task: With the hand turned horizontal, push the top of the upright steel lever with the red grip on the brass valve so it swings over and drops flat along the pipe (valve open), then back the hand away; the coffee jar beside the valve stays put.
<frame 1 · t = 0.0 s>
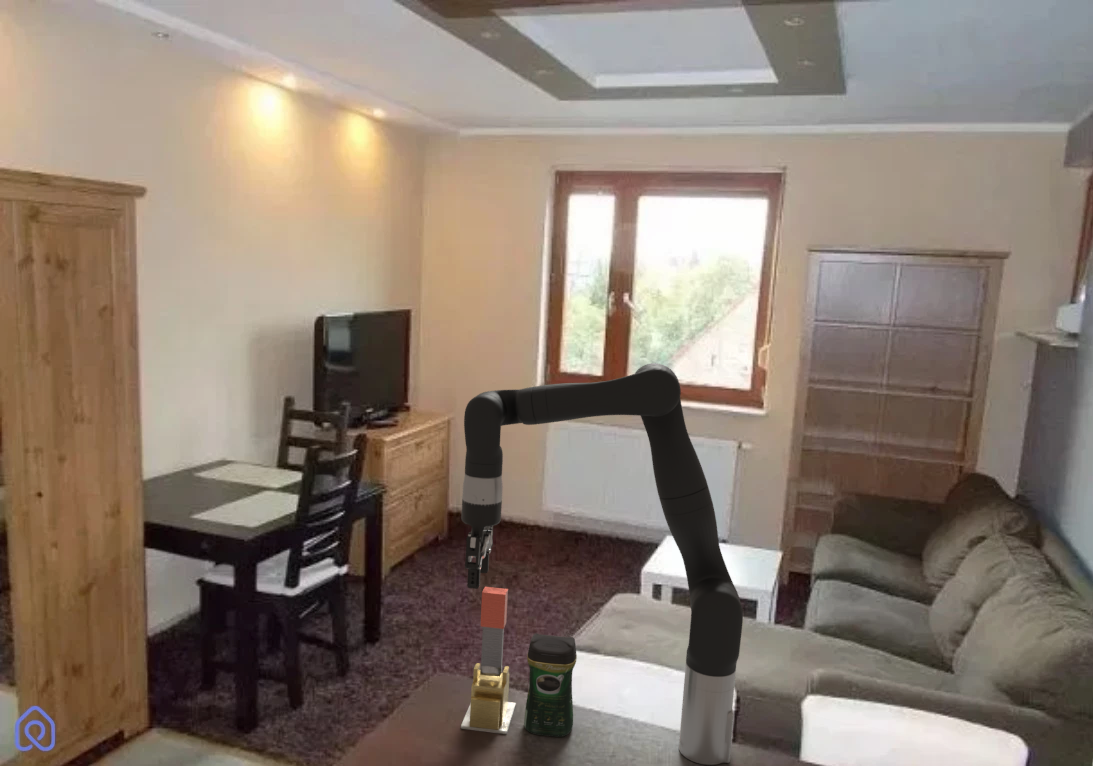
hand: (478, 579, 157), 29 cm above the table, tool pointing down, fingers open, 8 cm apart
valve body: (488, 717, 163), on the table
lever: (493, 633, 161), point 18 cm above the table, hinge at 2.0°
coffee jar: (547, 728, 161), on the table
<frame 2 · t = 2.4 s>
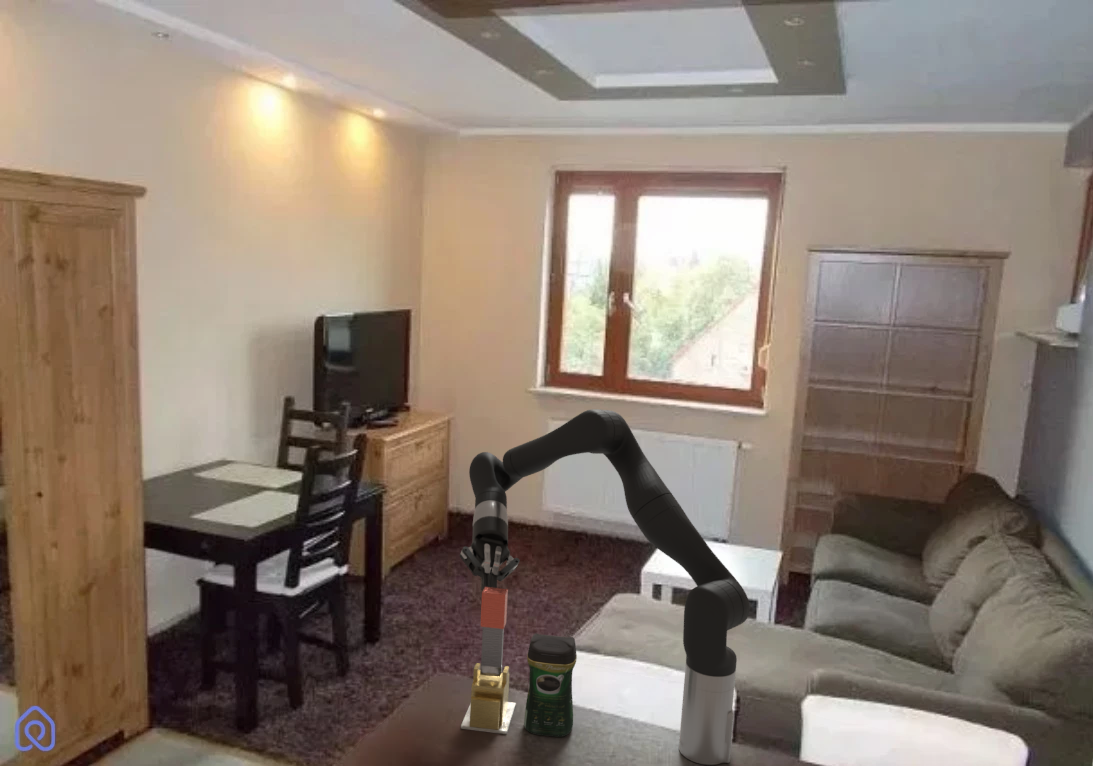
hand: (489, 592, 162), 25 cm above the table, tool tilted 60°, fingers closed
nothing on the table moved.
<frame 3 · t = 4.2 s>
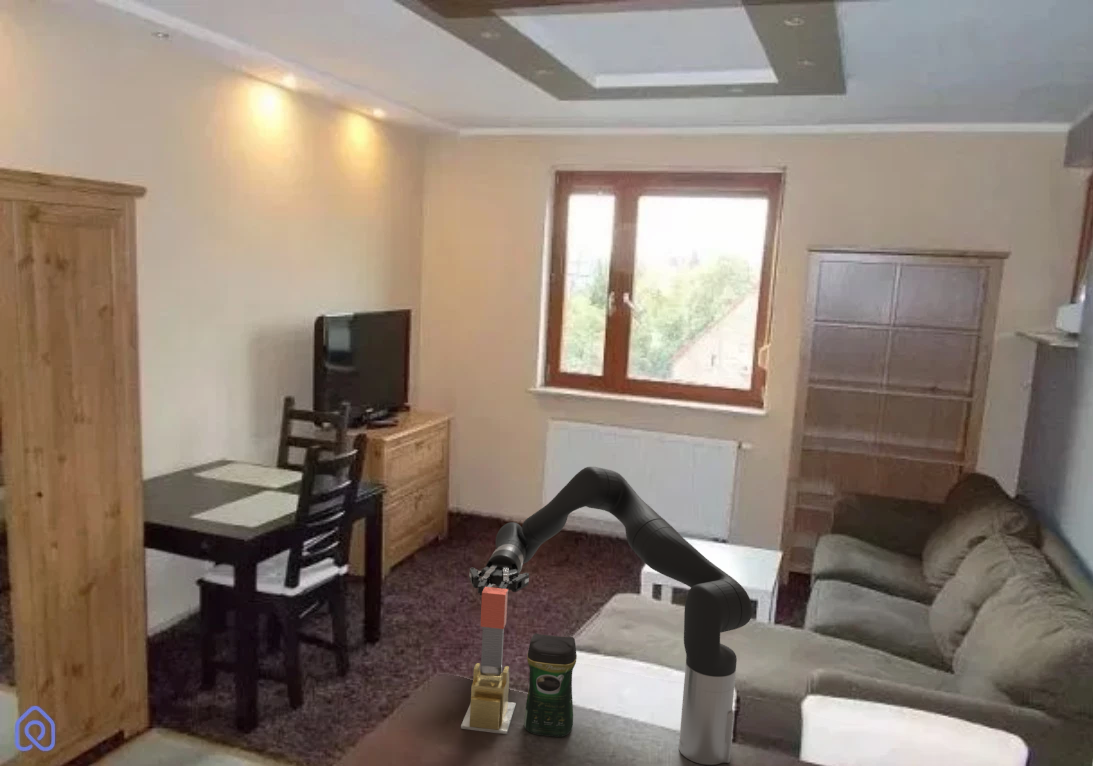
hand: (491, 591, 170), 22 cm above the table, tool horizontal, fingers open, 3 cm apart
nothing on the table moved.
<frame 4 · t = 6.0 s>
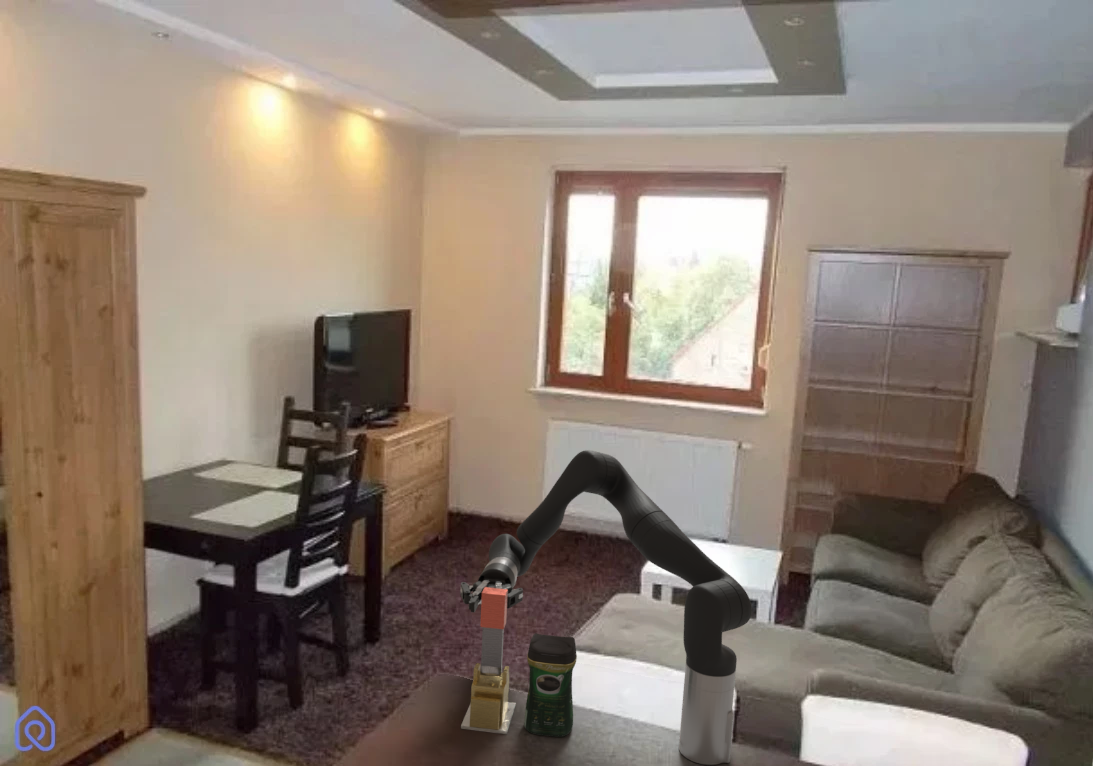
hand: (482, 608, 162), 22 cm above the table, tool horizontal, fingers open, 3 cm apart
lever: (492, 633, 160), point 18 cm above the table, hinge at 2.9°, touching gripper
everything else where it was.
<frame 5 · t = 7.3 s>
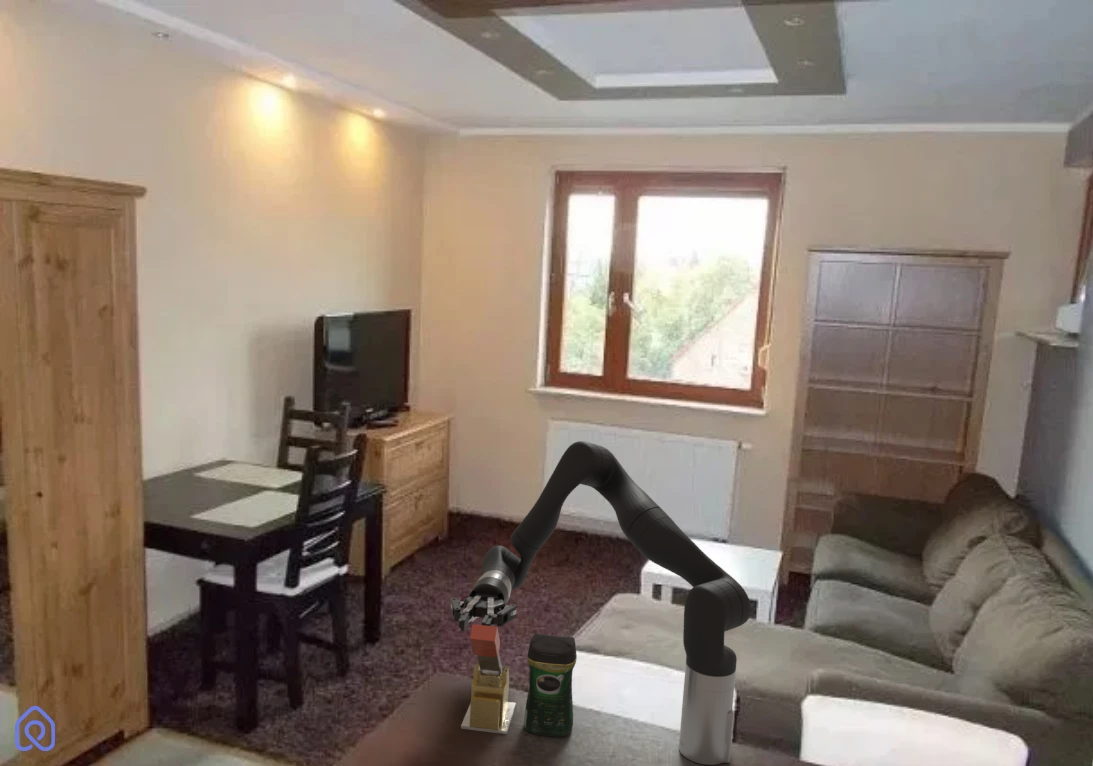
hand: (473, 627, 153), 22 cm above the table, tool horizontal, fingers open, 3 cm apart
lever: (487, 653, 156), point 16 cm above the table, hinge at 41.4°, touching gripper
everything else where it was.
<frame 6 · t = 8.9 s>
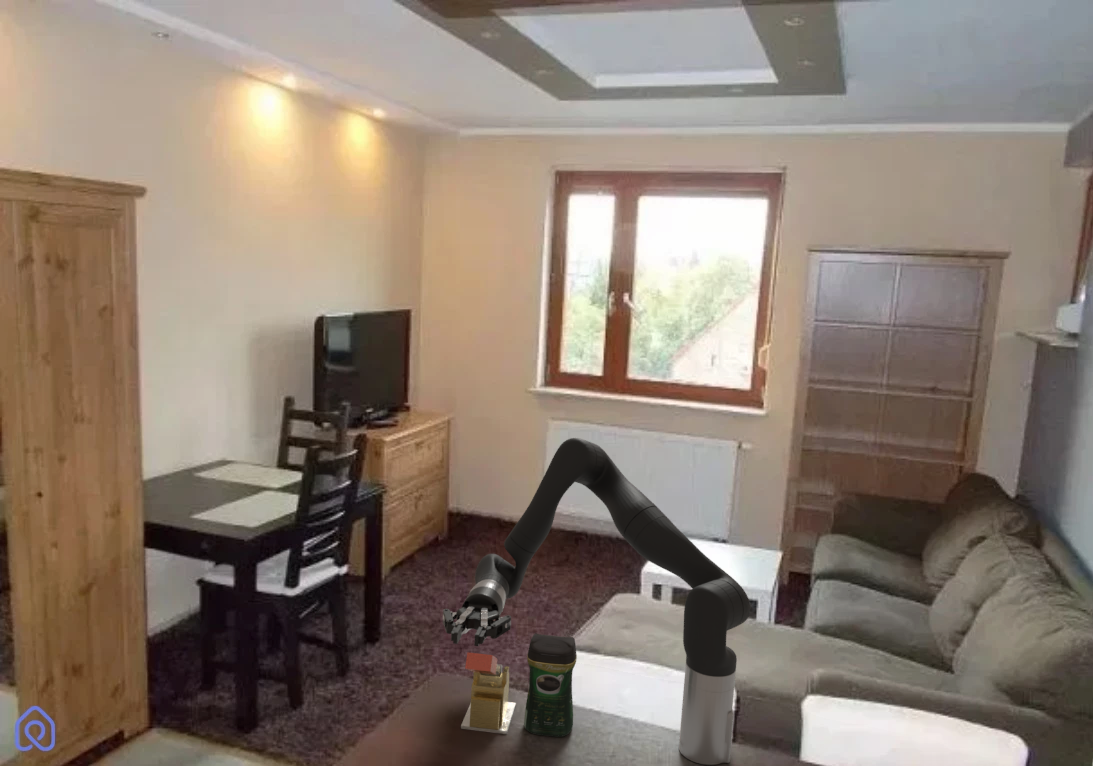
hand: (466, 639, 147), 22 cm above the table, tool horizontal, fingers open, 3 cm apart
lever: (485, 666, 155), point 14 cm above the table, hinge at 59.7°
everything else where it was.
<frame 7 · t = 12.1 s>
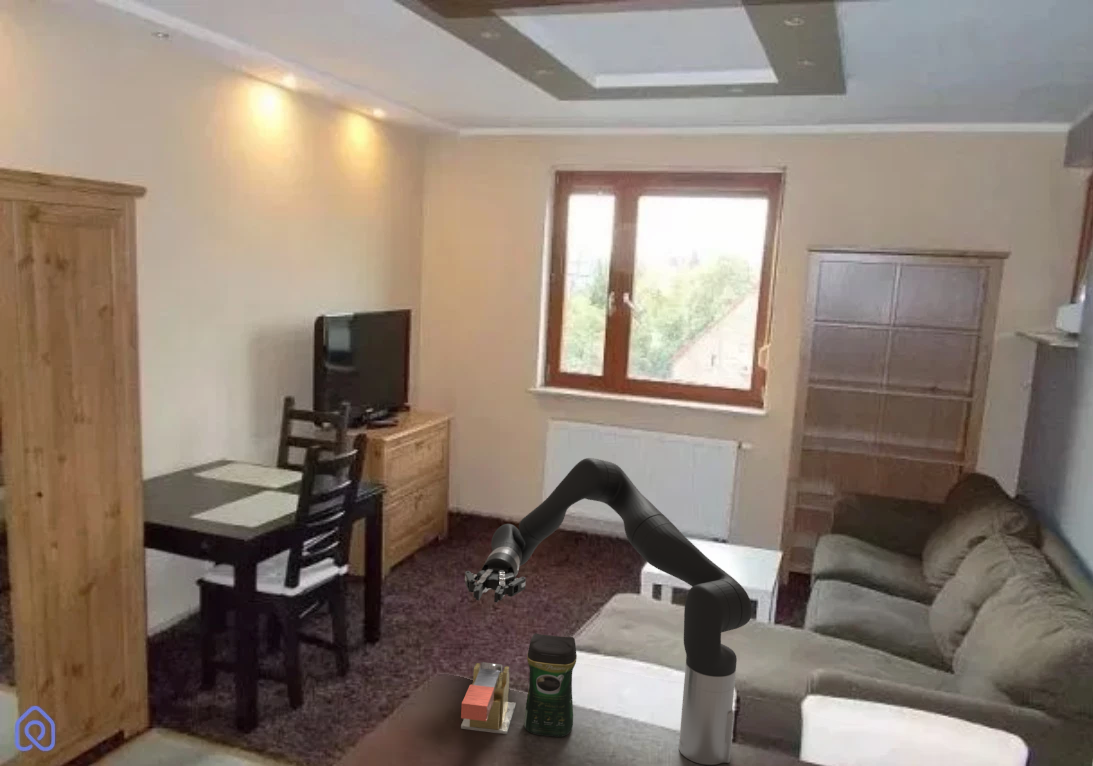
hand: (486, 596, 167), 22 cm above the table, tool horizontal, fingers open, 3 cm apart
lever: (483, 688, 154), point 10 cm above the table, hinge at 90.1°
everything else where it was.
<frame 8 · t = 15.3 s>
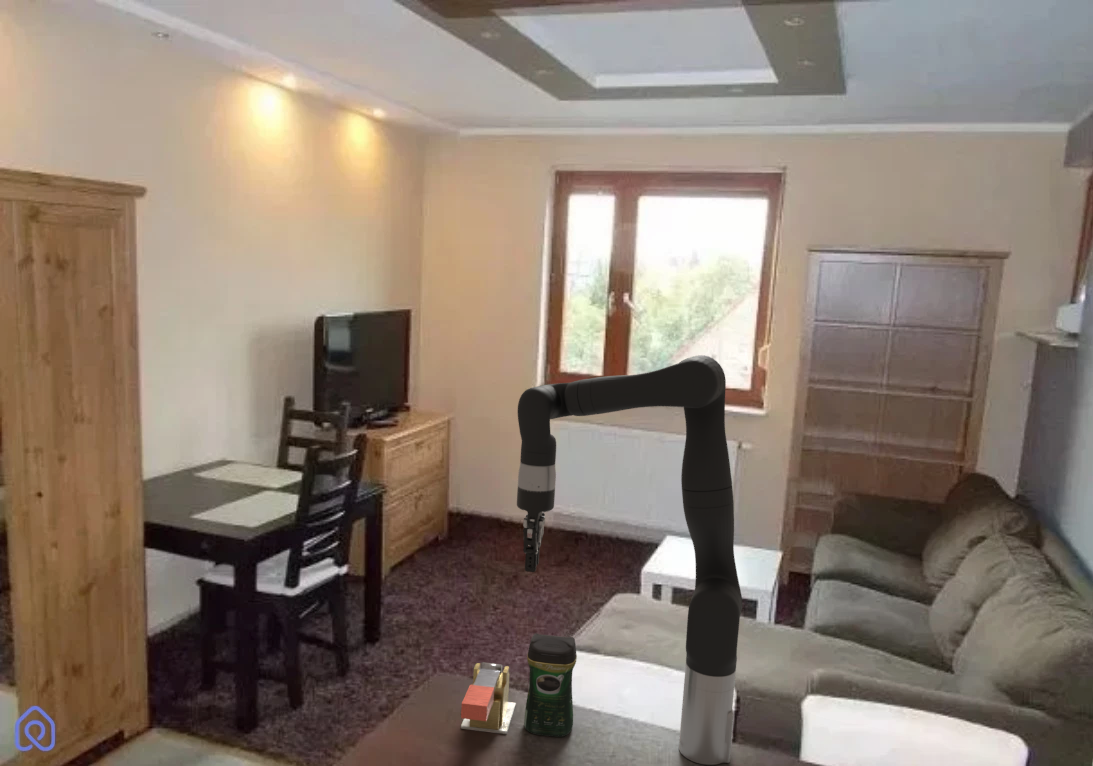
hand: (531, 567, 166), 29 cm above the table, tool pointing down, fingers open, 3 cm apart
nothing on the table moved.
at the end: lever at +90° (first picture: +2°); coffee jar moved 0.2 cm from its start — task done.
